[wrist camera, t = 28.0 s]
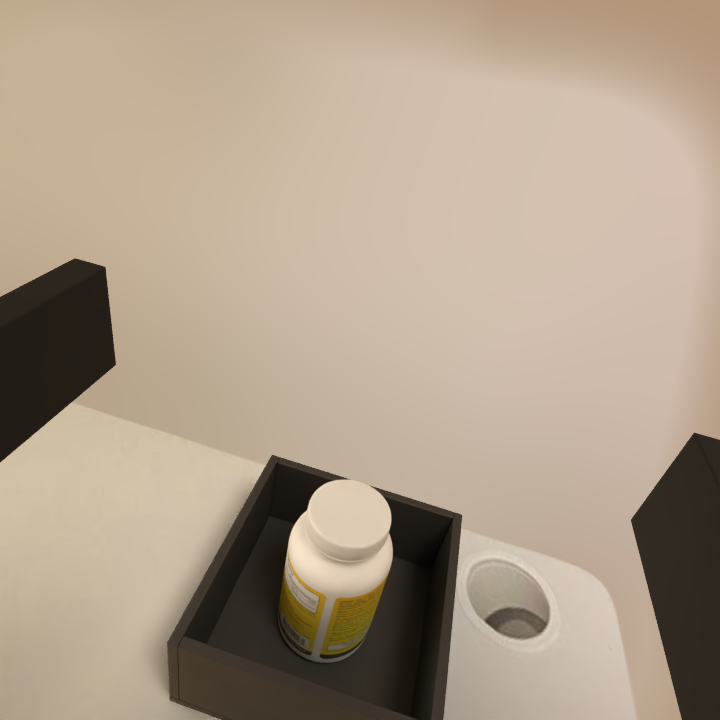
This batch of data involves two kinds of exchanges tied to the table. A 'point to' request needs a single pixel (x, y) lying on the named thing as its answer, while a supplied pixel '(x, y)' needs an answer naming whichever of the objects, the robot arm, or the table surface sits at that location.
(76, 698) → the table surface
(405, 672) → the basket
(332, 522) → the pill bottle
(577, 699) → the table surface
